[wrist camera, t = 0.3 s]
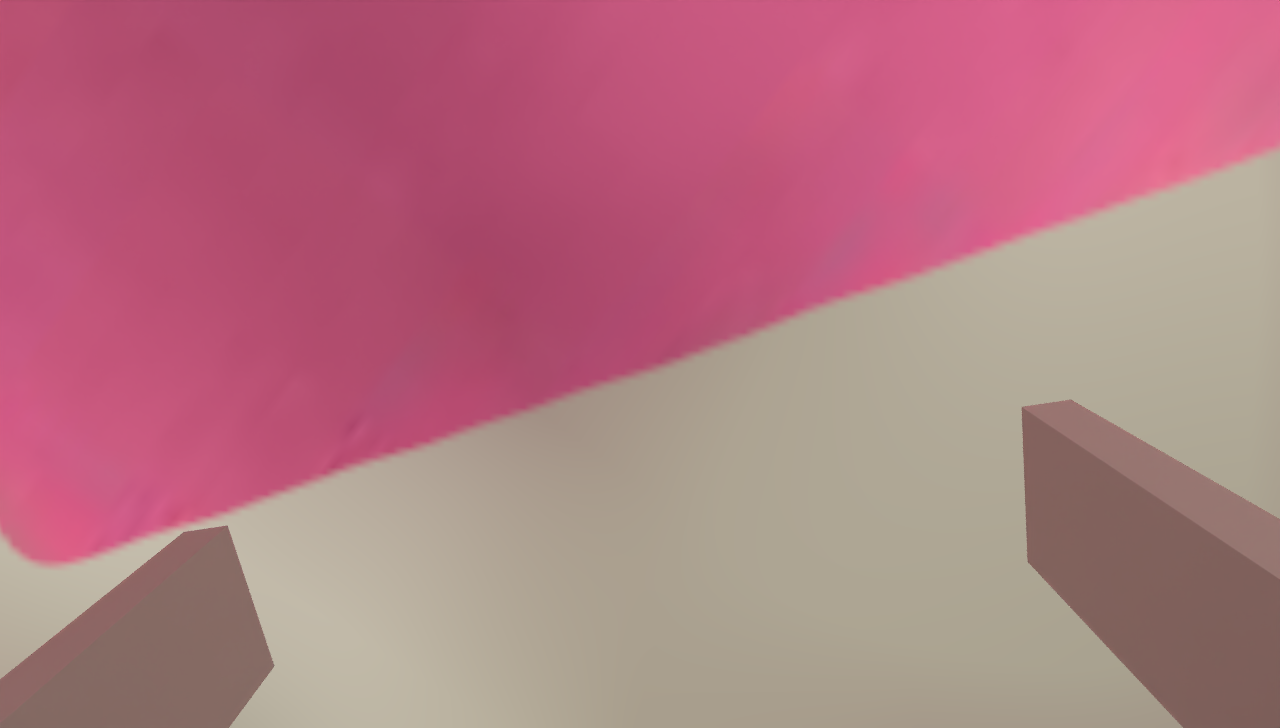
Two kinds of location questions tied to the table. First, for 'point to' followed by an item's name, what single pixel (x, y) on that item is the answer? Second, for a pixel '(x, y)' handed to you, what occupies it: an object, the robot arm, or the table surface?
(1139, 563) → the robot arm
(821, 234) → the table surface
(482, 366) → the table surface
